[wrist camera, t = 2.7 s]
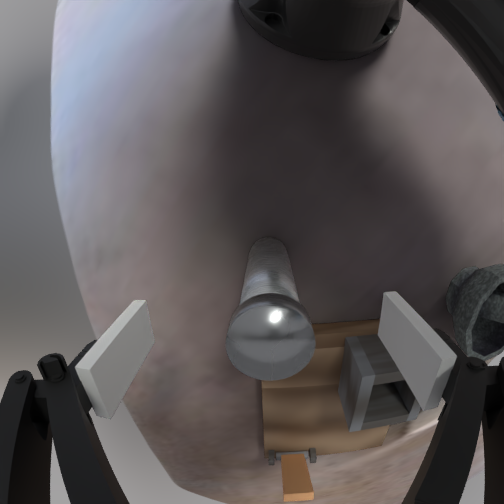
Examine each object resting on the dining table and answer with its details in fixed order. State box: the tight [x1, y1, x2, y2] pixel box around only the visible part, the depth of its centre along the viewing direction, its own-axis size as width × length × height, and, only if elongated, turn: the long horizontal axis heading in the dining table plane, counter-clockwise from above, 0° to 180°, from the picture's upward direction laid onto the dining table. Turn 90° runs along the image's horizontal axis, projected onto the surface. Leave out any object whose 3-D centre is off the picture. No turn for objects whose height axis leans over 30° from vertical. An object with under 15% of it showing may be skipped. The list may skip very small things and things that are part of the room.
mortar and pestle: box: [446, 264, 504, 361], centre depth 20 cm, size 11×9×12 cm
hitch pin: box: [226, 237, 316, 381], centre depth 19 cm, size 4×4×14 cm
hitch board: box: [261, 319, 421, 465], centre depth 26 cm, size 20×16×8 cm
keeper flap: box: [276, 451, 314, 502], centre depth 25 cm, size 11×4×1 cm
